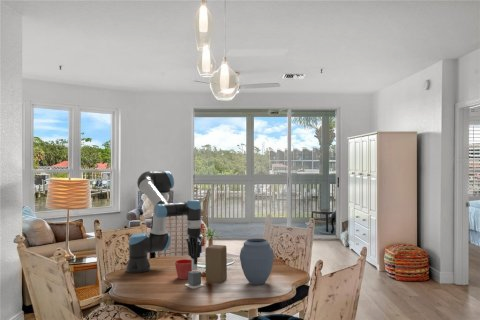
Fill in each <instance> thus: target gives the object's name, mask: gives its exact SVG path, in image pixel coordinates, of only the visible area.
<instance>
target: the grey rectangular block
mask: <svg viewBox="0 0 480 320" xmlns="http://www.w3.org/2000/svg"><path fill="white" fill-rule="evenodd" d="M187 280H188V283H187V284H190V285H193V286H195V285H199V284H201V283H202V272H201V271H199V270H192V271H191V272H188V279H187Z"/></svg>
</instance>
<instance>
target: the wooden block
mask: <svg viewBox="0 0 480 320" xmlns="http://www.w3.org/2000/svg"><path fill="white" fill-rule="evenodd" d="M204 249H205V250H204V253H205V255H204V256H205V257H204V258H205V282H206V283H214V284H216V283H217V284H222V283H223V282H224V281H226V280H227V279H228V270H227V269H228V268H227V267H228V263H227V262H228V261H227V259H228V258H227V251H228V250H227V246H226V245H223V244H222V245H221V244H210V245H209V246H206V247H205V248H204Z"/></svg>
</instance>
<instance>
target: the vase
mask: <svg viewBox="0 0 480 320" xmlns="http://www.w3.org/2000/svg"><path fill="white" fill-rule="evenodd" d="M239 258H240V259H239V260H240V266H241V269H242V272H243V275H244V277H245V278H246V280H247V282H249V284H250V285H253V286H261V285H263V284H266V282H267V280H268V278H269V277H270V275H271V272H272V269H273V265H274V258H275V255H274V250H273V247H272V246H271V243H270V241H268V240H267V239H264V238H250V239H249V238H248V239H247V240H246V241H244V242H243V245H242V247H241V248H240V251H239Z"/></svg>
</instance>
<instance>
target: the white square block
mask: <svg viewBox="0 0 480 320" xmlns="http://www.w3.org/2000/svg"><path fill="white" fill-rule="evenodd" d="M184 286H185V287H187V288H190V289H197V288H201V287H205V286H206V285H205V284H203V283H202V282H201V284H199V285H195V286H193V285H190V284H188V283H185V284H184Z"/></svg>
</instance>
